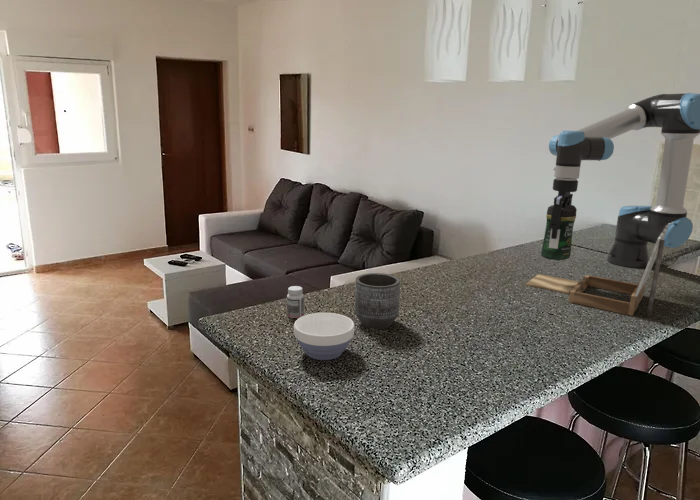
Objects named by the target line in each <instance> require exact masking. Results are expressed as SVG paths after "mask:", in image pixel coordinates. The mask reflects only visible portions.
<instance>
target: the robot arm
mask: <svg viewBox="0 0 700 500" xmlns="http://www.w3.org/2000/svg"><path fill="white" fill-rule="evenodd" d="M646 128H661V130H660V131H661V132H660V134H661V135H662V136H663V137H664V143H663V145H664V146H663V151H662V158H661V159H662V160H661V166H660V171H659V172H660V173H659V181H658V187H657V193H656V201H655V204H654V205H652V206H651V205H624V206H621V207H620V208H619V210H618V211H619V212H618V215H617V221H616V228H615V237H614V241H613V244H612V245H611V248H610V249H609V251H608V252H607V257H606V260H607V262H609V263H611V264H613V265H616V266H617V265H618V266H622V267H626V268H627V267H628V268H639V269H640V268H646V266H647V264H648V261H649V259H650V253H649V249H648V244H649V243H650V244H654V245H655V244H656V241H657V239H658V237H659V236H660V234H661V233H662V231H663V230H664V229H665V227H666V226H668V229H667V231H666V234H665V236H664V239H663V240H665V242H664V247H663V248H665V247H667V248H670V249H672V248H673V249H676V248H679V247H681V246H683V245H684V244H685V243H686V242H687V241H688V240H689V239H690V237H691V235H692V232H693V230H694V229H693V228H694V226H693V222H692V220H691V219H690V218H689V217H687V215H688V210H687V209H686V208H685V207H684V202H685V197H686V191H687V185H688V177H689V172H690V165H691V159H692V153H693V152H692V151H693V147H694V140H695V139H696V137H698V136H699V135H700V93H692V92H686V93H669V94H668V93H661V94H656V95H653V96H650V97H647V98H644V99H641V100H639V101H637V102H635V103H632V104H630V105H628V106H626V108H625V109H624V110H622V111H620V112H618V113H616V114H613V115H610V116H609V117H606V118H604V119H601V120H599V121H597V122H594V123H591V124H589V125H587V126H585V127H582V128H580V129H578V130H562V131H560V133H559V134H557V135H554V136H553V137H552V138H551V139H550V140H549V143H548V149H549V152H550V153H551V155H553V156H556V159H555V167H553V171H554V174H553V176H554V179H553V180H552V181H553V182H552V190H553V191H555V192H557V195H556V196H555V197H554V198H553V205H554V206H553V211H552V216H551V222H550V226H549V228H551V234H550V242H549V248H555V249H558V243H559V236H560V224H561V217H560V215H561V210H562V208H564V209H566V207H567V204H568V205H573V204H572V202H573V196H574V195H573V193H576V192H577V191H578V186H579V181H578V179H579V178H580V171H581V164H582V161H598V162H599V161H600V162H601V161H606V160H608V159H609V158H611V157H612V156H613V154H614V150H615V146H614V145H615V144H614V142H613V140H612V139H614V138H616V137H618V136H621V135H623V134H625V133H628V132H630V131H639V130H642V129H646ZM562 206H563V207H562ZM555 224H556V225H555Z"/></svg>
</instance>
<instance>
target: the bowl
mask: <svg viewBox="0 0 700 500" xmlns="http://www.w3.org/2000/svg"><path fill="white" fill-rule="evenodd" d="M355 328H356V327H355V323H354V321H353V319H351V318H350V317H348V316H346V315H343V314H339V313H334V312H314V313H309V314H304V316H302V317H300V318H297V320H295V321H294V324H293V333H294V336H295V339H296V341H297V343H298V344H299V346H300V347H301V349H302V350H303V351H304V352H305V354H306V356H307V357H309V358H310V359H314V360H316V361H317V360H318V361H331V360H335V359H337V358H339V357H341V356H342V354H343V352H344V351H345V350H346V349H347V348H348V346H349V344H350V343H351V341H352V340H353V338H354V335H355Z"/></svg>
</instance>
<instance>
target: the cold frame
mask: <svg viewBox="0 0 700 500" xmlns="http://www.w3.org/2000/svg"><path fill="white" fill-rule="evenodd" d="M667 229H668V226H666V227H665V229H664V230H663V231H662V233H661V234H660V236H659V237H658V239H657V241H656V244H654V246H653V249H652V252H651V254H650V255H649V258H650V259H649V261H648V264H647V266H646V267H645V270H644V272H643V274H642V276H641V279H640V281H639V283H633V282H627V281H621V280H617V279H610V278H606V277H605V278H604V277H600V276H596V275H595V276H593V275H589V274H586V275H584V277H583V278H582V279H581V280H580V281H578V282H579V283H578V284H577V285H576V286H575V287H574V288H573V289H572V290H571V291H570V293H569V296H568V303H571V304H575V305H576V304H577V305H581V306H584V307H585V306H586V307H591V308H594V309H599V310H603V311H609V312H613V313H618V314H622V315H627V316H633V315H634V314H635V312H636V310H637V308H638V306H639V304H640V303H641V301H642V299H643V297H644V293H645V289H646V285H647V283H646V282H647V280H648V279H649V276H650V273H651V271H652V268H653V266H654V271H653V276H652V282H651V288H650V293H649V297H648V298H649V299H648V305H647V310H646V316H647V317H652V314H653V313H652V311H653V306H654V302H655V295H656V291H657V286H658V285H657V284H658V280H659V275H660V274H659V273H660V268H661V264H662V257H663V252H664V248H665V247H664V242H665V240H663V239H664V236H665V234H666V231H667ZM654 264H655V265H654ZM588 287H590V288H596V289H602V290H606V291H611V292H617V293H621V294H627V295H631V296H630V301H629V302H628V301H625V300H619V299H614V298H610V297H605V296H600V295H595V294H589V293H584V291H585V290H586V289H587V288H588Z"/></svg>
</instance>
